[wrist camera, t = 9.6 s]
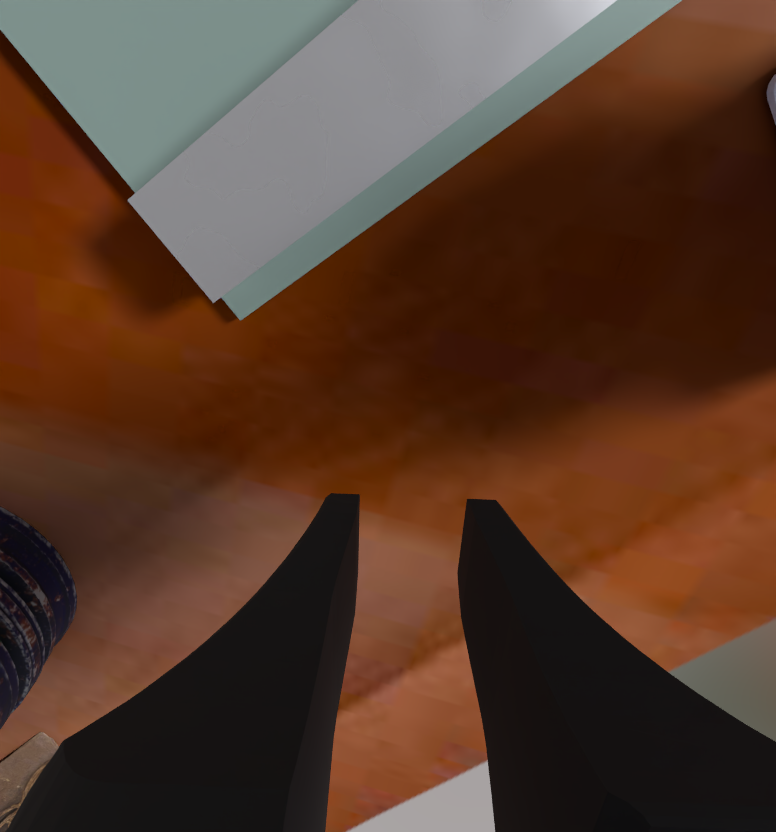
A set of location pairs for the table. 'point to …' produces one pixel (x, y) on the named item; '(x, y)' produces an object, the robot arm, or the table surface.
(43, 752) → the wooden fragment
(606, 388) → the table surface
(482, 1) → the bar
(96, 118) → the vise base
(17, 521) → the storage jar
